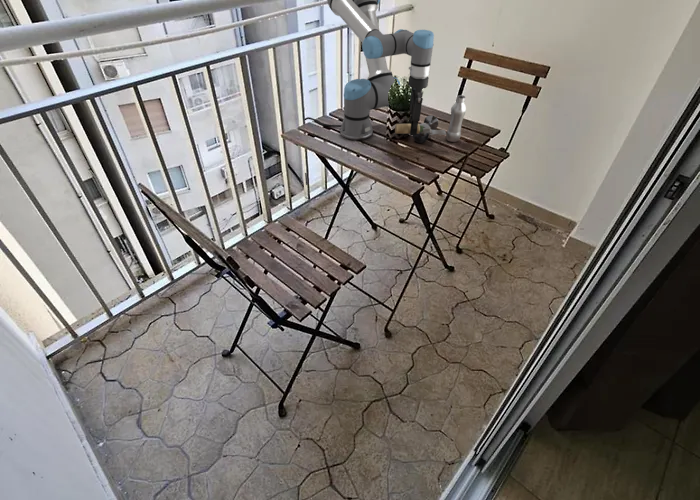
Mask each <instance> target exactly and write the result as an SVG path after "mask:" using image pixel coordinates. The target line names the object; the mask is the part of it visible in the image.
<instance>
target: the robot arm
mask: <svg viewBox="0 0 700 500" xmlns="http://www.w3.org/2000/svg"><path fill="white" fill-rule="evenodd" d="M380 1H381V0H327V5H328V8H329V9H330V11H331V12H332V13H333V14H334V15H335V16H337V17H340V18H341V19H342V21H343V22H344V23H345V24H346V25H347V27H348V28H349V29H350V30H351V32H353V33H354V35H355V36H356V37H357V38H358V39H359V40H360V42H361V43H362V45H361V46H362V47H361V48H362V52H363V55H364V57H365V62H366V66H367V71H368V77H367V78H355V79H352V80H349V81H348V82H347V83H346V84H345V85H344V89H343V119H342V122H341V124H330V123H329V124H328V123H324V122H321V121H319V120H318V119H315V118H313V117H310V116H307V117H305V118H304V119H303V120H304V121H307V120H310V121H313V122H316V123H318V124H319V125H321V126H324V127H331V128H340V130H339V131H340V136H341V137H342V138H344V139H346V140H350V141H364V140H367V139H370V138H371V137H372V136H373V133H374V129H373V125H372V122H371V118H370V114H371V110H375V109H376V110H377V109H380V108H385V107H387V108H388V107H390V106H389V103H388V92H389V90H390V88H391V85H392V84H393V83H394V81H395V80H394V79H397V82H398V84H399V85H400V86H401V83H400V80H399V79H398V78H397V77H395V76H394V75H393V72H392V71H391V70H390V69H389V68H388V64H387V58H386V57H391V56H398V55H399V56H400V55H408V56H410V57H411V58H410V66H408V70H409V78H408V86H409V87H410V88H411V89H410V90H411V93H410V94H411V95H410V104H409V123H408V124H411V130H410V134H409V136H412V135H417V127H418V124H419V122H420V121H421V113H422V112H421V111H422V107H423V106H422V104H423V101H424V98H423V95H424V92H423V89H426V88H427V87H428V86H429V76H430V72H431V71H430V70H431V61H432V56H433V48H434V41H435V40H434V39H435V38H434V37H435V34H434V32H433V31H432V30H429V29H418V30H417V29H416V30H414V32H411V31H410V30H408V29H402V28H401V29H397V30H396V31H394V32H393V33H382V32H381V31H380V27H379V26H380V25H379V22H378V18H377V11H378V8H379V4H380ZM304 177H305V186H308V174H307V172H304Z"/></svg>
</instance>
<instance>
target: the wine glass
mask: <svg viewBox="0 0 700 500" xmlns="http://www.w3.org/2000/svg"><path fill="white" fill-rule="evenodd" d="M419 124H420V125H423V128H430V129H431V130H437V128H438V126H439V119H438V118H437V117H436V116H435V115H432V114H430V115H427V116H425V117H424V120H423V122H421V123H419ZM411 136H412V139H413V140H414V141H415V142H416V143H419V144H423V143H426V142H427V141H428V139H429V138H430V137H431V135H429V133H422V132H419V134H417V135H411Z"/></svg>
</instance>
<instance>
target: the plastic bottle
mask: <svg viewBox="0 0 700 500" xmlns="http://www.w3.org/2000/svg"><path fill="white" fill-rule="evenodd" d="M465 102H466V96H465V95H463V94H462V95H461V94H460V95H457V96H456V97H455V102H454V103H453V104H452V106H451V108H450V120H449V125H448V127H447V131H446V132H445V133H446V135H445V138H446V140H447V141H448V142H450V143H455V142H458V141H459V140H460V138H461V136H462V125H463V121H464V118H465V115H466V112H467V105H466V104H465Z"/></svg>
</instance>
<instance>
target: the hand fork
mask: <svg viewBox="0 0 700 500" xmlns="http://www.w3.org/2000/svg"><path fill="white" fill-rule="evenodd" d="M420 124H421V123H418V127H417V134H419V132H422V133H429V135H430V136H443V135H445V136H446V133H447V132H446V130H445V129H435V130H431V129H430V128H423V125H420ZM410 130H411V124H409V123H395V125H394V134H395V135H396V134H397V135H399V134H400V135H401V134H405V135H406V134H409V135H410Z"/></svg>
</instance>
